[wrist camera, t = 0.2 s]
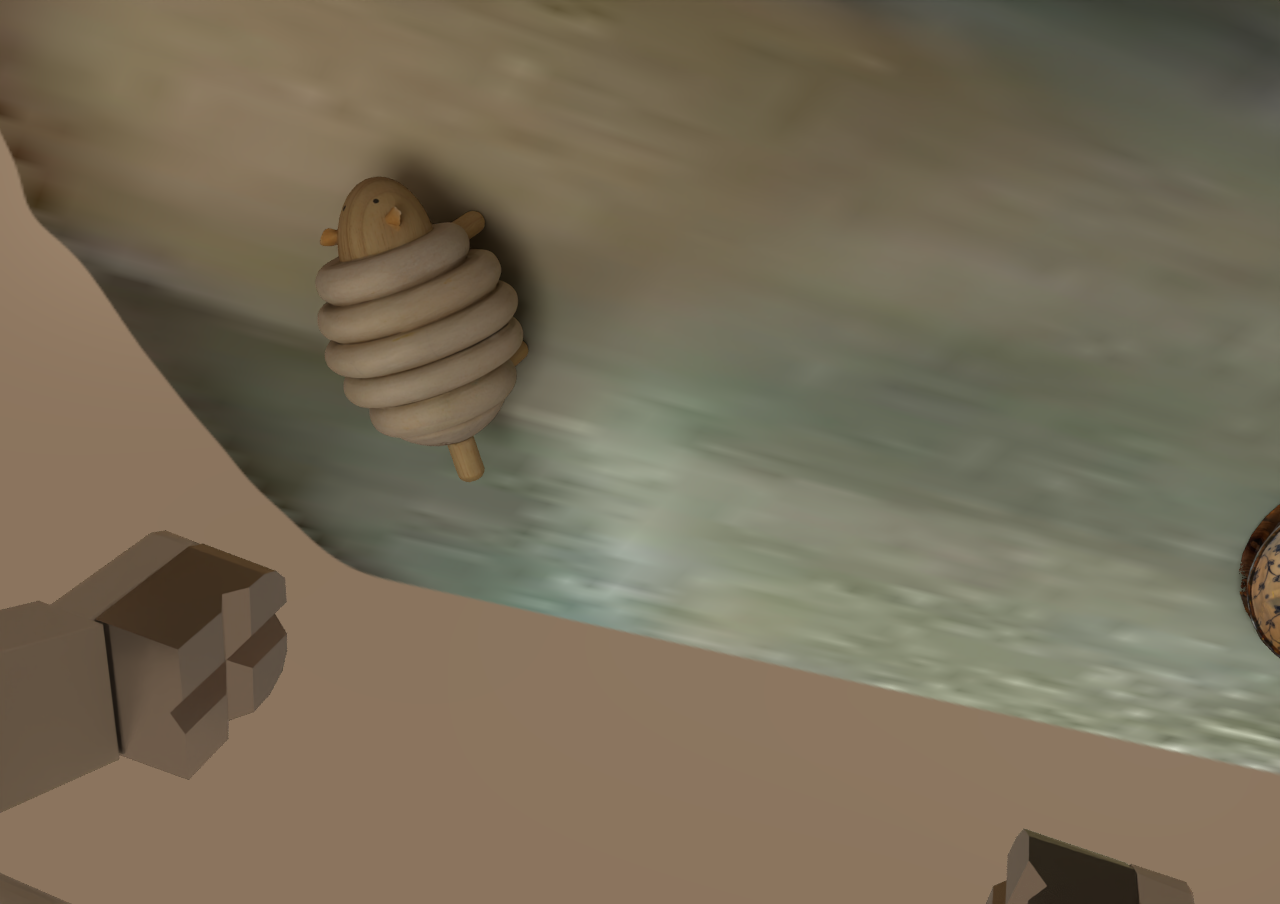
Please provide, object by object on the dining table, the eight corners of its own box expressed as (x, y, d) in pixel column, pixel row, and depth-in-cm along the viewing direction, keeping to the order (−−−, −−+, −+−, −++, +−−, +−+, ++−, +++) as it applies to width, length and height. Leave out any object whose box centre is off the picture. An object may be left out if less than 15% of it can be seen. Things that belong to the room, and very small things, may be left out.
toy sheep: (490, 129, 58) (393, 171, 49) (604, 411, 64) (537, 499, 54) (333, 190, 63) (215, 239, 53) (453, 451, 68) (365, 539, 58)
